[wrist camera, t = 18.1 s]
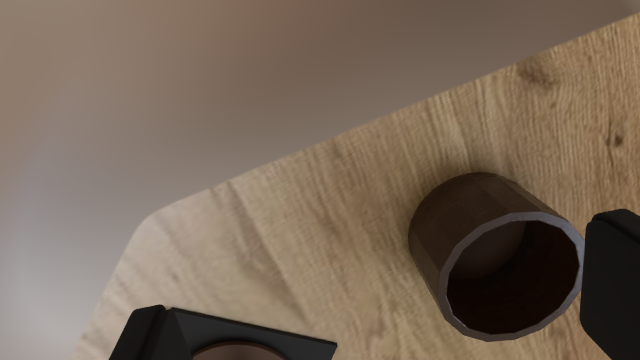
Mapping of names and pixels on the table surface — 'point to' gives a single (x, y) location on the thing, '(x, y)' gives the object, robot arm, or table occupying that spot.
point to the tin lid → (237, 352)
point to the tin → (495, 257)
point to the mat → (249, 336)
